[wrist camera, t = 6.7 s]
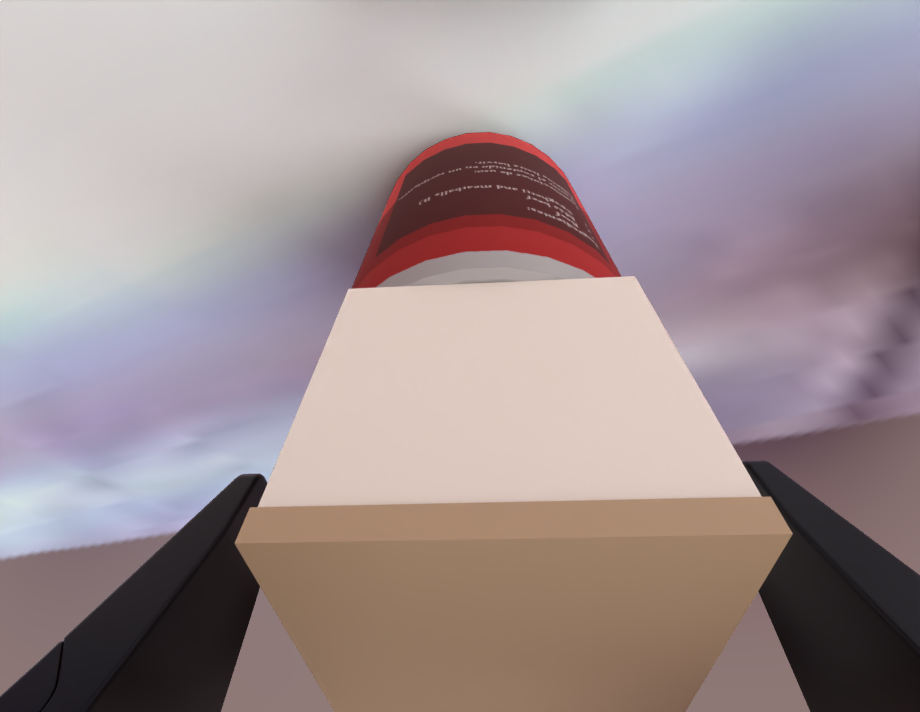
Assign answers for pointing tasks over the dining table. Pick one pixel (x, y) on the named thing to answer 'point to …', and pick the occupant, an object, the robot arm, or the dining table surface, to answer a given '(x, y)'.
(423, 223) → the canned food
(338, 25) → the dining table surface
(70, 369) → the dining table surface
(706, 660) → the cream box
